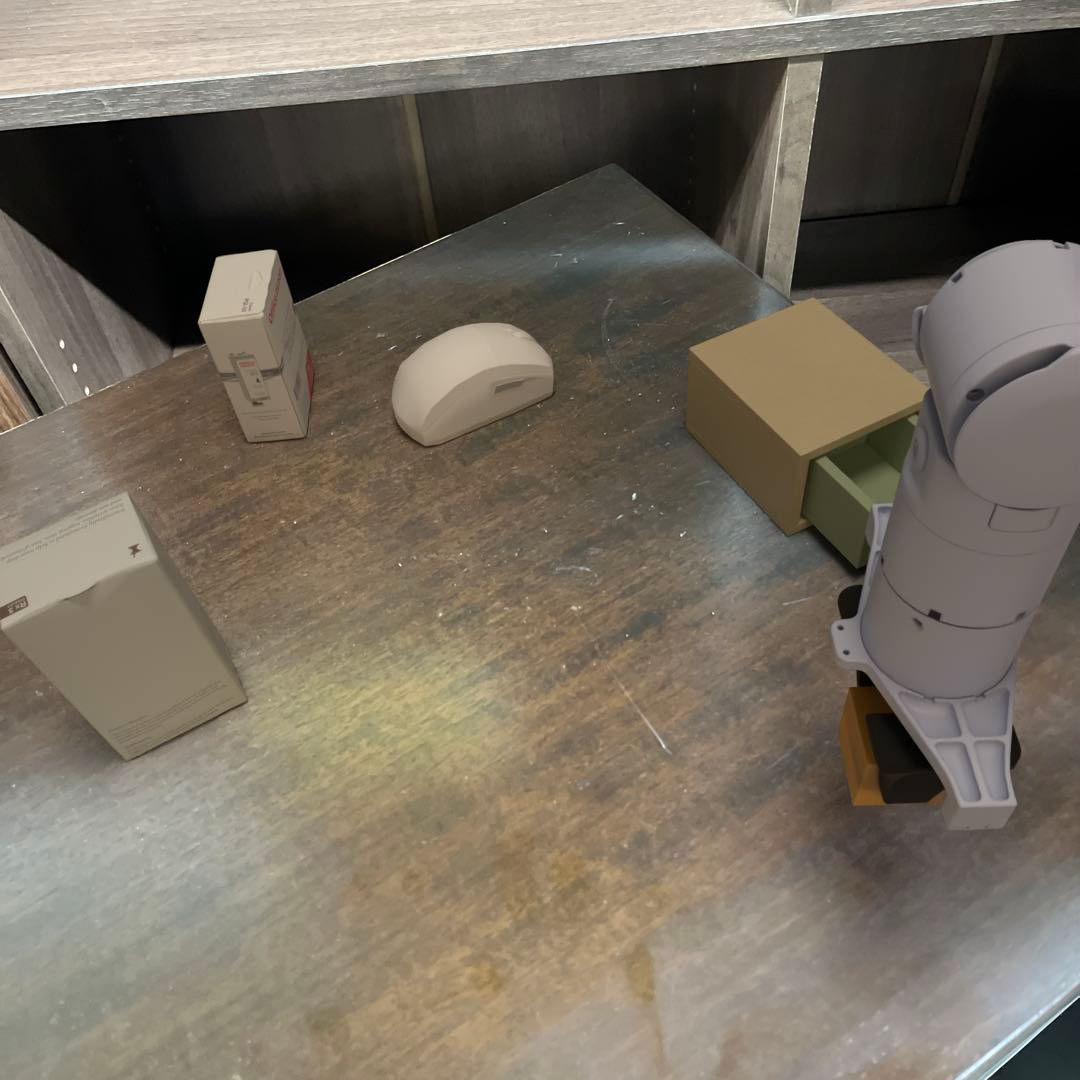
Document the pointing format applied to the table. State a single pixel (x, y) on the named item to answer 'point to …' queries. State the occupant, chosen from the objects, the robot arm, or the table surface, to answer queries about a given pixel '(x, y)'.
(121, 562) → the cosmetic box
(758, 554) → the table surface
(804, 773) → the table surface
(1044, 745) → the table surface
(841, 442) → the cabinet
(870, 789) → the block
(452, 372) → the computer mouse
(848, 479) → the drawer
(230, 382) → the ink box
